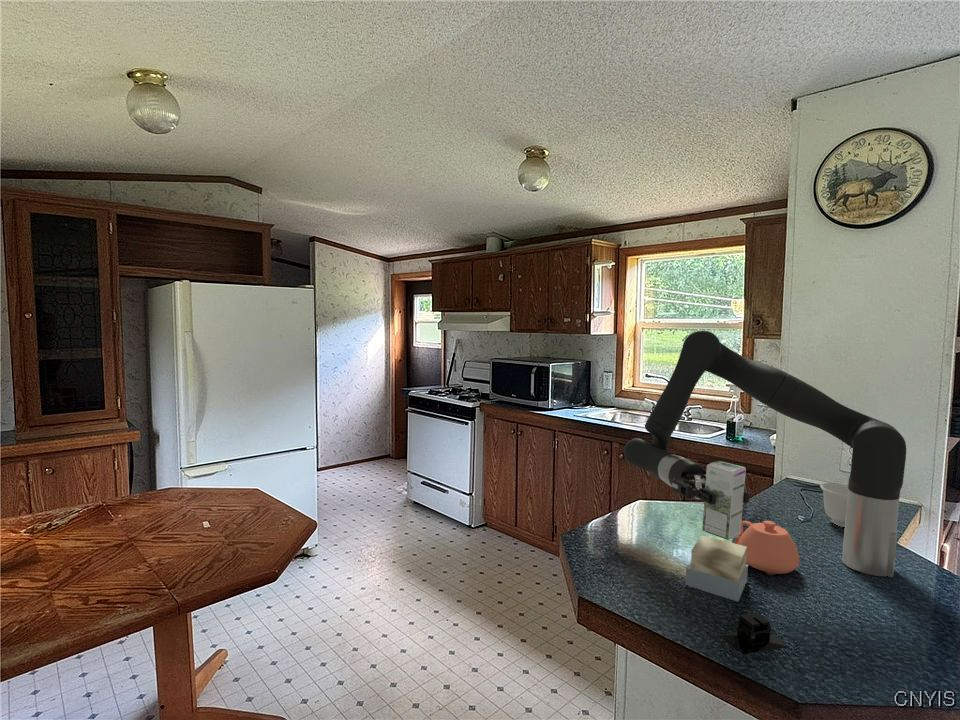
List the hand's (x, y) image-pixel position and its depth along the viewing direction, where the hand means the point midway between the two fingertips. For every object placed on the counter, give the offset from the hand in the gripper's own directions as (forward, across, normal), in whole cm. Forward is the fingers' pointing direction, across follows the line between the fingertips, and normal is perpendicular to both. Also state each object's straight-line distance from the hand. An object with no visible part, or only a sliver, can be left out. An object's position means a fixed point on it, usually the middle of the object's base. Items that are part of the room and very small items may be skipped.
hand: (731, 499), depth 104 cm
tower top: (-2, 0, +15) cm, 15 cm away
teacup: (-24, +58, +19) cm, 66 cm away
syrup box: (-2, 0, +8) cm, 8 cm away
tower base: (-2, 0, +19) cm, 19 cm away
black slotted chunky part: (+16, -7, +19) cm, 26 cm away
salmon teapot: (-7, +16, +19) cm, 26 cm away
